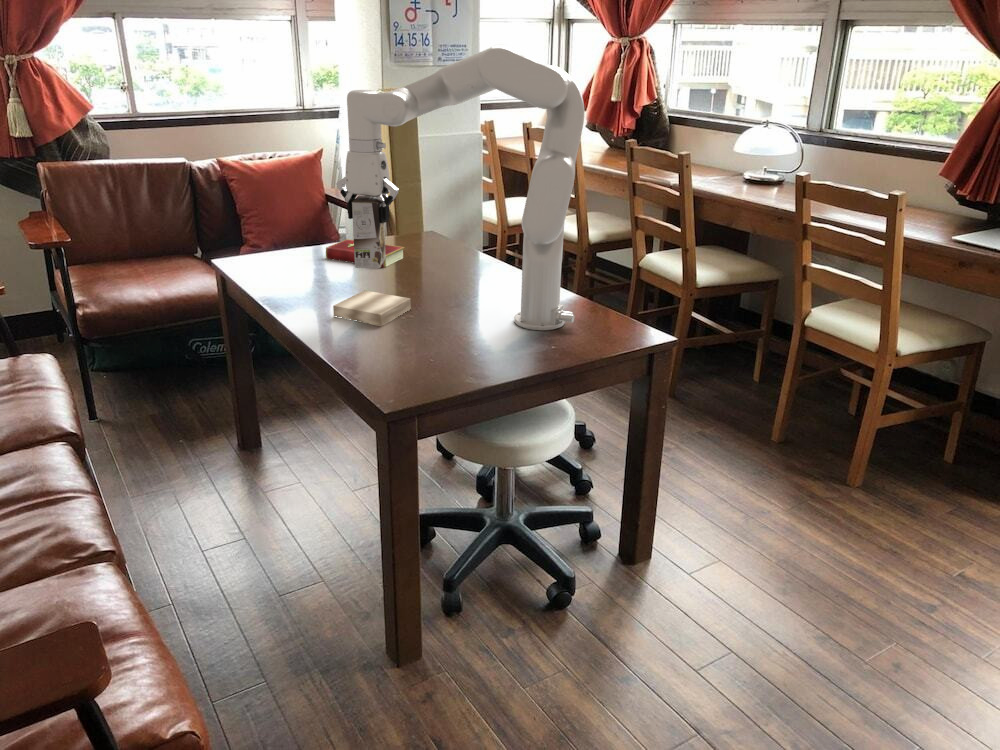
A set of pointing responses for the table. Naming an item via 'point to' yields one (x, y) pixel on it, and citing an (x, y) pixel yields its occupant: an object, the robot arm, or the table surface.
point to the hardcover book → (346, 253)
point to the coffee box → (368, 233)
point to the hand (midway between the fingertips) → (368, 219)
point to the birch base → (372, 307)
